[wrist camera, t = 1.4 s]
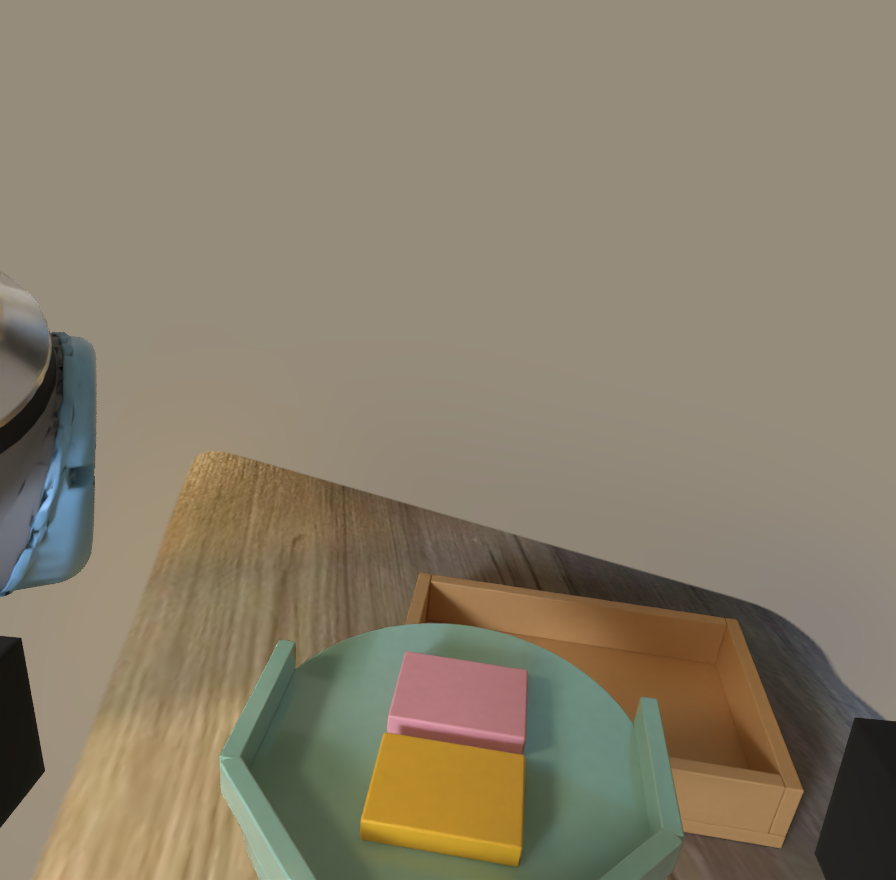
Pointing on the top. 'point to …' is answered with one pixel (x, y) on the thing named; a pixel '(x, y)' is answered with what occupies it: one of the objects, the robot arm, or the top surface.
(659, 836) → the green pedestal stand
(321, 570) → the top surface
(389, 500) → the top surface
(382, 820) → the sachet
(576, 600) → the box
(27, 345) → the robot arm
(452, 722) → the sachet
